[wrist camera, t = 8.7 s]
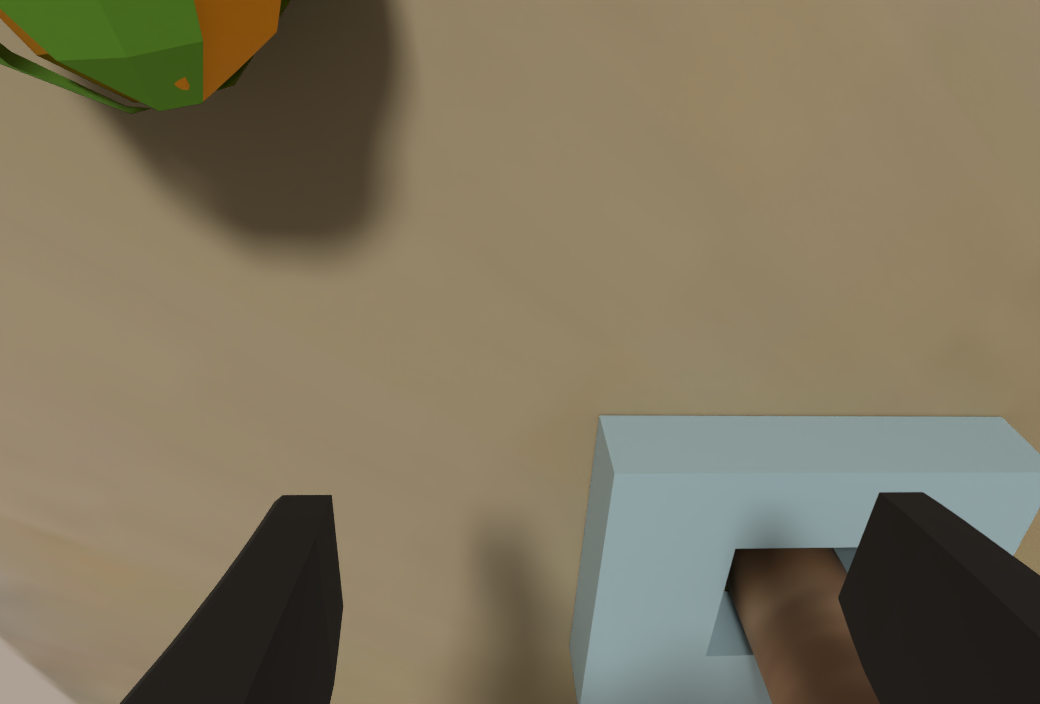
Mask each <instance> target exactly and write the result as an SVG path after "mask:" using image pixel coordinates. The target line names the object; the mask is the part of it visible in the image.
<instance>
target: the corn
mask: <svg viewBox="0 0 1040 704" xmlns="http://www.w3.org/2000/svg"><path fill="white" fill-rule="evenodd" d="M289 2H290V0H0V18H1V19H2V20H3V21H4V22H5V23H6V24H7V25H8V26H9V27H10V29H11V30H12V31H13V32H14V33H15V34H16V35H17V36H18V37H19V38H20V39H21V40H22V41H23V42H24V43H25V44H26V45H27V46H28V47H29V48H30V49H31V50H32V51H33V52H34V53H35V54H36V55H37V56H39V57H42V58H44V59H46V60H48V61H50V62H52V63H54V64H56V65H58V66H60V67H62V68H64V69H66V70H68V71H71V72H73V73H75V74H77V75H79V76H81V77H83V78H85V79H87V80H89V81H91V82H93V83H95V84H97V85H99V86H102V87H104V88H106V89H108V90H110V91H112V92H114V93H116V94H118V95H120V96H122V97H124V98H126V99H128V100H131V101H133V102H142V103H144V104H146V105H148V106H150V107H152V108H154V109H156V110H158V111H163V110H169V109H174V108H179V107H184V106H190V105H195V104H200V103H203V101H204V100H205V99H206V98H208V97H209V96H210V95H211V94H212V93H213V92H214V91H216V90H219V89H223V88H226V87H229V86H233V85H234V84H235V83H236V81H237V80H238V78H239V77H240V75H241V74H242V72H243V71H244V69H245V68H246V66H247V65H248V63H249V62H250V60H251V59H252V57H253V56H254V54H255V53H256V52H257V51H258V50H259V49H260V48H261V47H262V46H263V45H264V44H265V43H266V42H267V41H268V40H269V39H270V38H271V37H272V36H273V35H274V34H275V33H276V32H277V27H278V20H279V17H280V15H281V14H282V12H283V11H284V9H285V8H286V6H287V5H288V3H289ZM0 64H2V65H4V66H7V67H10V68H12V69H15V70H17V71H20V72H23V73H25V74H28V75H30V76H33V77H36V78H38V79H41V80H43V81H46V82H49V83H51V84H54V85H57V86H59V87H62V88H64V89H67V90H70V91H72V92H75V93H77V94H80V95H83V96H85V97H88V98H90V99H93V100H96V101H98V102H101V103H103V104H106V105H109V106H111V107H114V108H117V109H119V110H122V111H124V112H127V113H130V114H133V113H136V112H140V111H144V110H147V109H151V108H141V107H127V106H124V105H122V104H120V103H118V102H116V101H113V100H111V99H109V98H107V97H105V96H103V95H101V94H99V93H97V92H95V91H92V90H90V89H88V88H86V87H84V86H82V85H80V84H78V83H76V82H73V81H71V80H69V79H67V78H65V77H63V76H61V75H59V74H57V73H55V72H52V71H50V70H48V69H46V68H44V67H42V66H40V65H38V64H36V63H34V62H31V61H29V60H27V59H25V58H23V57H21V56H19V55H17V54H15V53H13V52H11V51H10V50H8V49H7V48H6V47H5V46H3V45H2V44H1V43H0Z"/></svg>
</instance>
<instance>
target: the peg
mask: <svg viewBox="0 0 1040 704" xmlns="http://www.w3.org/2000/svg"><path fill="white" fill-rule="evenodd" d="M846 576H847V571H846V569H845V568H844V566H843V564H842V562H841V560H840V559H839V557H838V555H837V553H836V552H835V550H834V548H754V549H735V552H734V556H733V559H732V563H731V567H730V570H729V574H728V577H727V581H726V583H727V586H728V589H729V591H730V594H731V597H732V599H733V602H734V604H735V607H736V610H737V612H738V615H739V618H740V620H741V623H742V625H743V628H744V631H745V633H746V636H747V639H748V641H749V644H750V646H751V649H752V652H753V654H754V657H755V660H756V662H757V665H758V667H759V670H760V673H761V675H762V678H763V681H764V683H765V686H766V688H767V691H768V694H769V696H770V699H771V702H772V704H880V703H879V701H878V699H877V697H876V695H875V693H874V691H873V689H872V687H871V684H870V682H869V680H868V678H867V676H866V674H865V672H864V670H863V667H862V664H861V662H860V659H859V657H858V654H857V651H856V649H855V646H854V643H853V641H852V638H851V635H850V632H849V629H848V626H847V623H846V620H845V617H844V614H843V612H842V609H841V606H840V603H839V600H838V596H839V594H840V591H841V589H842V586H843V584H844V581H845V578H846Z"/></svg>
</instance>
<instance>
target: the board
mask: <svg viewBox="0 0 1040 704" xmlns="http://www.w3.org/2000/svg"><path fill="white" fill-rule="evenodd" d="M879 492H923V493H925V494H927V495H928V496H930V497H931V498H933V499H934V500H936V501H937V502H939V503H940V504H942V505H943V506H945V507H946V508H948V509H949V510H950V511H952V512H953V513H955V514H956V515H958V516H959V517H960V518H962V519H963V520H965V521H966V522H967V523H969V524H970V525H971V526H973V527H974V528H976V529H977V530H978V531H980V532H981V533H982V534H984V535H985V536H987V537H988V538H989V539H991V540H992V541H993V542H995V543H996V544H997V545H999V546H1000V547H1002V548H1003V549H1004V550H1006V551H1007V552H1008V553H1010V554H1011V555H1012V556H1013V555H1014V554H1015V552H1016V550H1017V548H1018V546H1019V544H1020V543H1021V541H1022V539H1023V537H1024V535H1025V533H1026V532H1027V530H1028V528H1029V526H1030V524H1031V522H1032V521H1033V519H1034V517H1035V515H1036V513H1037V511H1038V510H1039V508H1040V454H1039V453H1038V452H1037V451H1036V450H1035V449H1034V448H1033V447H1032V446H1031V445H1030V444H1029V443H1028V442H1027V441H1026V440H1025V439H1024V438H1023V437H1022V436H1021V435H1020V434H1019V433H1018V432H1017V431H1016V430H1015V429H1014V428H1013V427H1011V426H1010V425H1009V424H1008V423H1007V422H1006V421H1005V420H1004V419H1003V418H1002V417H901V416H611V415H599V422H598V430H597V438H596V445H595V453H594V461H593V469H592V476H591V484H590V492H589V500H588V507H587V515H586V523H585V531H584V538H583V546H582V554H581V561H580V569H579V577H578V585H577V592H576V600H575V608H574V616H573V623H572V631H571V639H570V646H569V647H570V654H571V661H572V669H573V676H574V683H575V690H576V697H577V704H772V702H771V699H770V696H769V694H768V691H767V688H766V686H765V683H764V681H763V678H762V675H761V673H760V670H759V667H758V665H757V662H756V660H755V657H754V654H753V652H752V649H751V646H750V644H749V641H748V639H747V636H746V633H745V631H744V628H743V625H742V623H741V620H740V618H739V615H738V612H737V610H736V607H735V604H734V602H733V599H732V597H731V594H730V591H724V588H725V585H726V581H727V577H728V574H729V570H730V567H731V563H732V559H733V556H734V552H735V549H754V548H834V550H835V552H836V553H837V555H838V557H839V559H840V560H841V562H842V564H843V566H844V568H845V569H846V571H847V573H848V571H849V568H850V566H851V563H852V561H853V558H854V555H855V553H856V550H857V548H858V545H859V543H860V540H861V538H862V535H863V533H864V530H865V527H866V525H867V522H868V520H869V517H870V515H871V512H872V510H873V507H874V504H875V502H876V499H877V497H878V494H879Z"/></svg>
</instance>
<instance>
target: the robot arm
mask: <svg viewBox="0 0 1040 704" xmlns="http://www.w3.org/2000/svg"><path fill="white" fill-rule="evenodd" d="M838 600H839V603H840V606H841V609H842V612H843V614H844V617H845V620H846V623H847V626H848V629H849V632H850V635H851V638H852V641H853V643H854V646H855V649H856V651H857V654H858V657H859V659H860V662H861V664H862V667H863V670H864V672H865V674H866V676H867V678H868V680H869V682H870V684H871V687H872V689H873V691H874V693H875V695H876V697H877V699H878V701H879V703H880V704H1040V575H1038V574H1037V573H1036V572H1034V571H1033V570H1031V569H1030V568H1029V567H1027V566H1026V565H1025V564H1023V563H1022V562H1021V561H1019V560H1018V559H1017V558H1015V557H1014V556H1012V555H1011V554H1010V553H1008V552H1007V551H1006V550H1004V549H1003V548H1002V547H1000V546H999V545H997V544H996V543H995V542H993V541H992V540H991V539H989V538H988V537H987V536H985V535H984V534H982V533H981V532H980V531H978V530H977V529H976V528H974V527H973V526H971V525H970V524H969V523H967V522H966V521H965V520H963V519H962V518H960V517H959V516H958V515H956V514H955V513H953V512H952V511H950V510H949V509H948V508H946V507H945V506H943V505H942V504H940V503H939V502H937V501H936V500H934V499H933V498H931V497H930V496H928V495H927V494H925V493H923V492H879V494H878V497H877V499H876V502H875V504H874V507H873V510H872V512H871V515H870V517H869V520H868V522H867V525H866V527H865V530H864V533H863V535H862V538H861V540H860V543H859V545H858V548H857V550H856V553H855V555H854V558H853V561H852V563H851V566H850V568H849V571H848V573H847V576H846V578H845V581H844V584H843V586H842V589H841V591H840V594H839V596H838ZM342 612H343V600H342V590H341V580H340V571H339V561H338V552H337V542H336V533H335V523H334V513H333V504H332V495H282V496H281V497H280V498H279V499H278V500H276V501H275V502H274V503H273V505H272V507H271V508H270V510H269V511H268V513H267V514H266V516H265V517H264V519H263V520H262V522H261V523H260V525H259V526H258V528H257V529H256V531H255V532H254V534H253V535H252V536H251V538H250V539H249V541H248V542H247V544H246V545H245V546H244V548H243V549H242V551H241V552H240V554H239V555H238V556H237V558H236V559H235V560H234V562H233V563H232V565H231V566H230V567H229V569H228V570H227V571H226V573H225V574H224V576H223V577H222V578H221V580H220V581H219V582H218V584H217V585H216V586H215V588H214V589H213V590H212V592H211V593H210V594H209V595H208V597H207V598H206V599H205V601H204V602H203V603H202V604H201V606H200V607H199V608H198V610H197V611H196V612H195V613H194V615H193V616H192V617H191V619H190V620H189V621H188V623H187V624H186V625H185V626H184V628H183V629H182V630H181V632H180V633H179V634H178V635H177V637H176V638H175V639H174V640H173V642H172V643H171V644H170V645H169V646H168V648H167V649H166V650H165V651H164V652H163V654H162V655H161V656H160V657H159V658H158V659H157V661H156V662H155V663H154V664H153V665H152V666H151V668H150V669H149V670H148V671H147V672H146V673H145V675H144V676H143V677H142V678H141V679H140V680H139V682H138V683H137V684H136V685H135V686H134V687H133V689H132V690H131V691H130V692H129V693H128V695H127V696H126V697H125V698H124V699H123V700H122V702H121V703H120V704H330V700H331V695H332V691H333V686H334V680H335V672H336V664H337V656H338V647H339V639H340V630H341V621H342Z"/></svg>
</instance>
